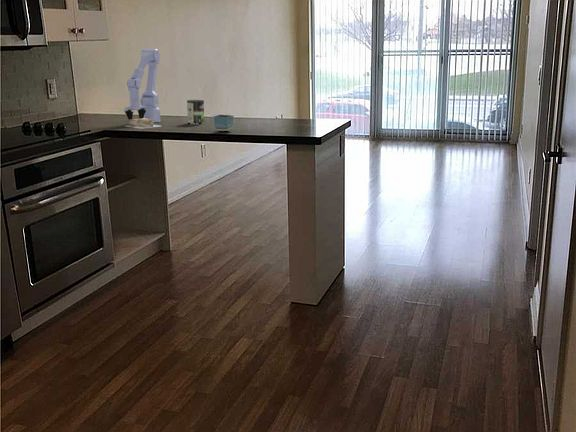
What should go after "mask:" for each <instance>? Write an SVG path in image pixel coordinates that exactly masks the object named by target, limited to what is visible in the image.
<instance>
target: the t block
mask: <svg viewBox="0 0 576 432" xmlns="http://www.w3.org/2000/svg"><path fill="white" fill-rule="evenodd" d="M128 123H129V124H128V126H131V127H130V128H133V127H136V126H141V127H152V128H154V127H153V125H154V122H153V120H150V119H149V118H144V117H143V118H139V117H137V118H133V119H129V120H128Z"/></svg>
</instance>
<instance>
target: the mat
mask: <svg viewBox="0 0 576 432" xmlns="http://www.w3.org/2000/svg"><path fill="white" fill-rule="evenodd" d="M125 127H126V128H127V127H128V128H132V129H133V128H134V129H141V130H143V129H151V128H158V127H161V125H158V124H153V127H141V126H136V127H131V126H129V125H125Z"/></svg>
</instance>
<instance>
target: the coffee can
mask: <svg viewBox="0 0 576 432" xmlns="http://www.w3.org/2000/svg"><path fill="white" fill-rule="evenodd" d="M186 102H187V103H186V105H187V106H186V107H187V124H188V123H203V122H204V123H205V106H204V105H205V104H204V103H205V100H204V99H188V100H186Z"/></svg>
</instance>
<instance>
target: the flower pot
mask: <svg viewBox="0 0 576 432" xmlns="http://www.w3.org/2000/svg"><path fill="white" fill-rule="evenodd" d="M213 122H214V123H213V124H214V127H215V129H228V128H230V127H231V128H232V127H233V125H234V115H230V114H218V115H213Z"/></svg>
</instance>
